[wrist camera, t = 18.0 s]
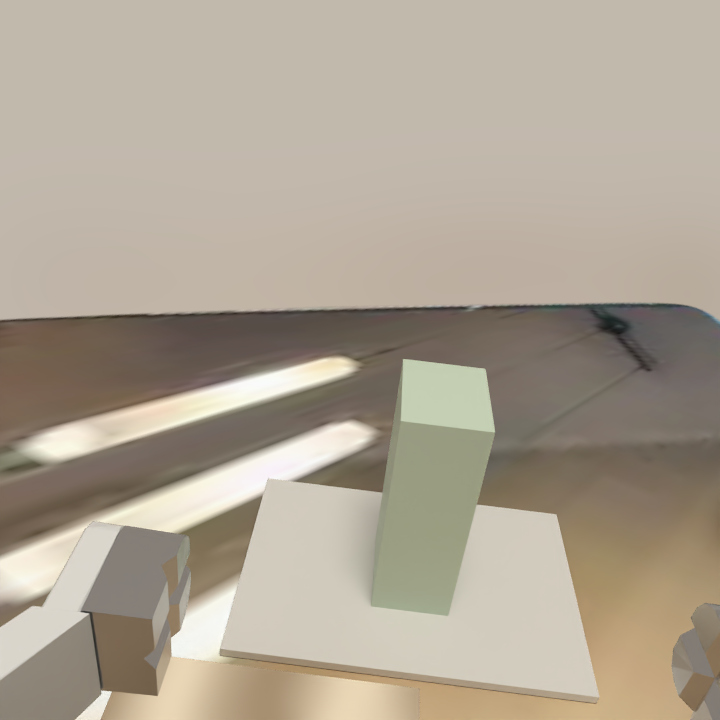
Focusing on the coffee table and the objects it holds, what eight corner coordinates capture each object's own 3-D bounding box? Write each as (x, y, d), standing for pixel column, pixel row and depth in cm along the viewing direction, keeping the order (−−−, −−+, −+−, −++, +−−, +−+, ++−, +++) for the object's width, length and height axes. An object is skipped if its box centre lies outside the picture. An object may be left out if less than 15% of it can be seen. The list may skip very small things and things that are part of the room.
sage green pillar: (370, 606, 35) (400, 421, 29) (376, 534, 40) (403, 358, 33) (448, 616, 35) (494, 432, 29) (445, 542, 40) (485, 369, 33)
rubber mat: (220, 655, 33) (220, 648, 32) (267, 484, 43) (267, 478, 43) (596, 703, 32) (599, 697, 32) (554, 520, 43) (556, 514, 42)
